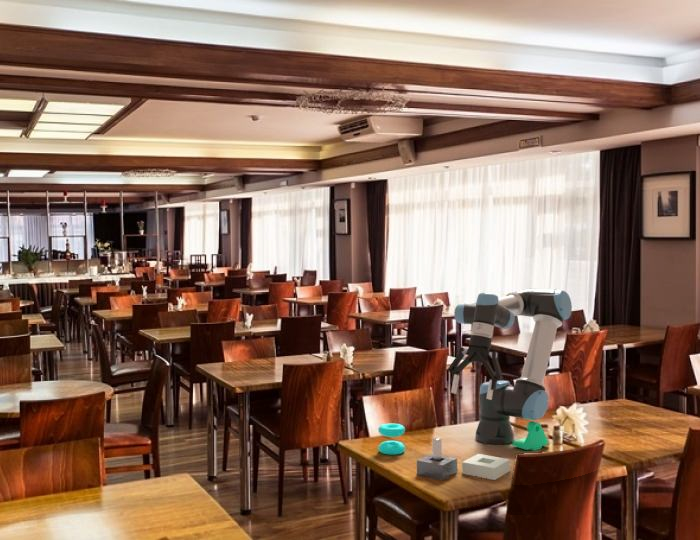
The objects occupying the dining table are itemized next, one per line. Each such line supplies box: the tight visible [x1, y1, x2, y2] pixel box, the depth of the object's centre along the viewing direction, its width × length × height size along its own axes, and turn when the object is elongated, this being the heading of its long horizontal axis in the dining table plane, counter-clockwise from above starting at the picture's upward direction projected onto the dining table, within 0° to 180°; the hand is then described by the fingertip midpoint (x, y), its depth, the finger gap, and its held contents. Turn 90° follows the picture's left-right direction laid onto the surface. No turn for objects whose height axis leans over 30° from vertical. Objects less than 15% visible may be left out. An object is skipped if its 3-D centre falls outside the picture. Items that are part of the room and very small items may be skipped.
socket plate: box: [461, 453, 511, 481], centre depth 255 cm, size 12×12×4 cm
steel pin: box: [432, 437, 442, 462], centre depth 254 cm, size 3×3×12 cm
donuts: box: [378, 422, 406, 456], centre depth 281 cm, size 10×10×10 cm
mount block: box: [416, 452, 458, 481], centre depth 254 cm, size 10×10×5 cm
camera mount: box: [511, 420, 549, 451], centre depth 286 cm, size 12×8×10 cm, turn 125°
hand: (471, 396), depth 260 cm, fingers open, 13 cm apart
